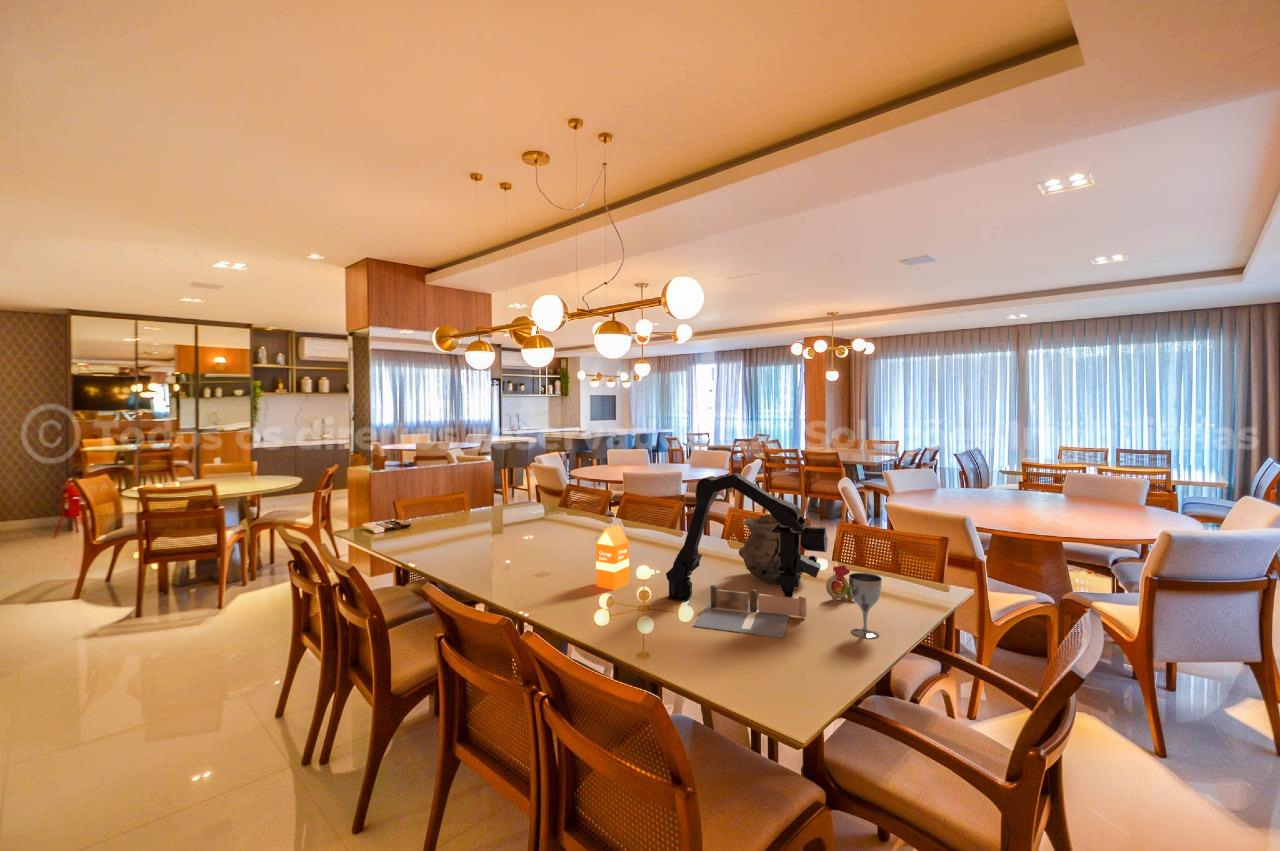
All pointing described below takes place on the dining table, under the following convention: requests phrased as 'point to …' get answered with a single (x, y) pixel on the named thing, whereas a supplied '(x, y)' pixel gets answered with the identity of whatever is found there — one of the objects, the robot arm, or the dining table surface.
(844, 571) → the bird rattle
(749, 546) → the clay pot
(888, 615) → the dining table surface
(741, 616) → the card
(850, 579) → the wine glass
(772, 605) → the swing panel
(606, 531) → the orange juice
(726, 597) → the fixed fence
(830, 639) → the dining table surface
